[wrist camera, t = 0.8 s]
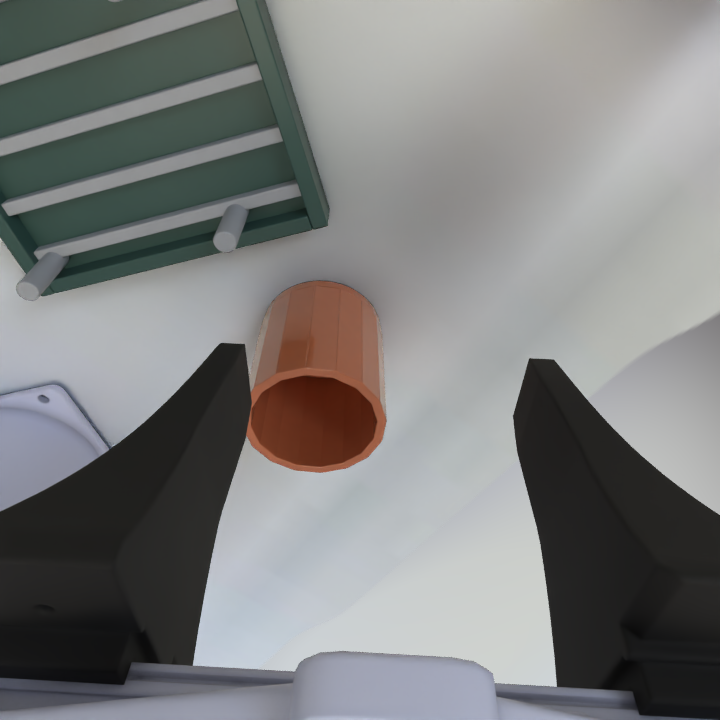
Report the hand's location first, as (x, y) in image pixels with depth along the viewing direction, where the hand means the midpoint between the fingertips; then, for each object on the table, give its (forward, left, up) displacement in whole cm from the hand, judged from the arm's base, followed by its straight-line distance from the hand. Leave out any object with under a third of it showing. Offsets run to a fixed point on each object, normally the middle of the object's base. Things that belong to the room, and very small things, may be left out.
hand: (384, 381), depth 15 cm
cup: (-4, -5, -10) cm, 12 cm away
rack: (-8, +7, -10) cm, 15 cm away
